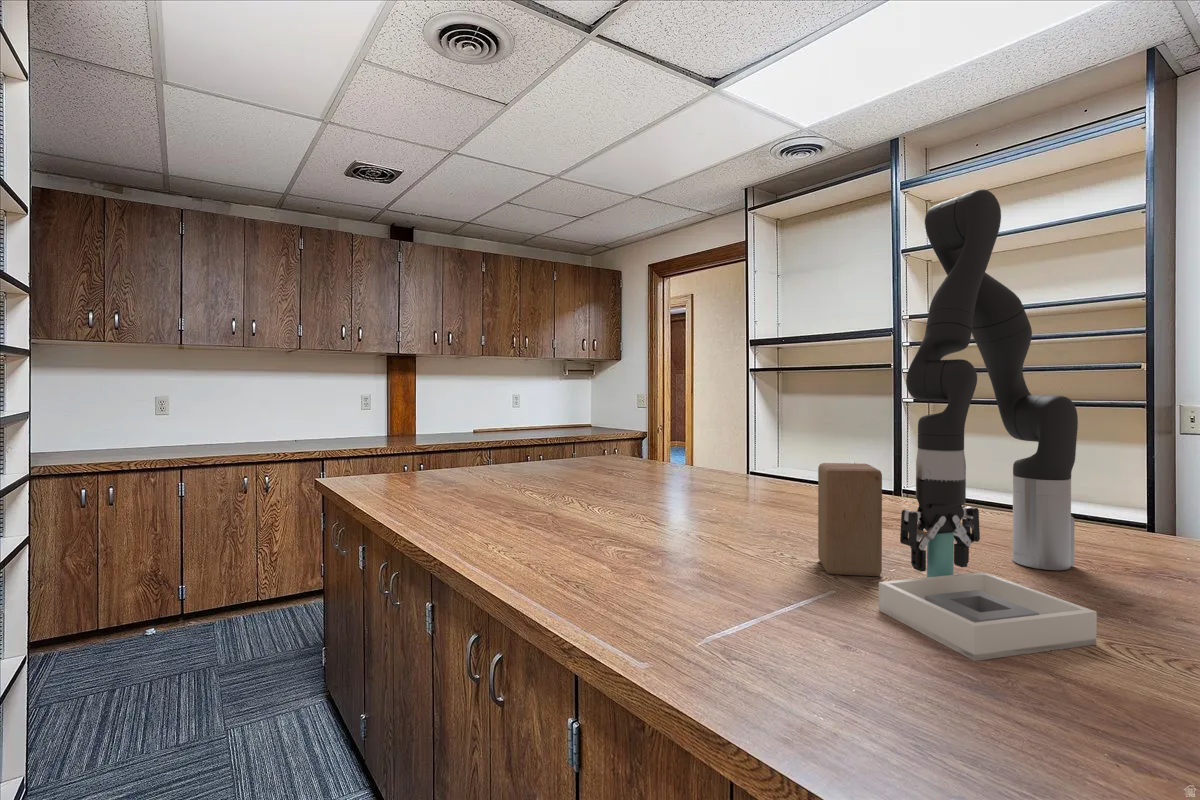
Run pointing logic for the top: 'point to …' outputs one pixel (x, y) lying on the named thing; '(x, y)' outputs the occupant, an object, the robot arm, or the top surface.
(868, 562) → the wooden block
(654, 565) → the top surface
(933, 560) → the peg
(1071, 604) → the bin
